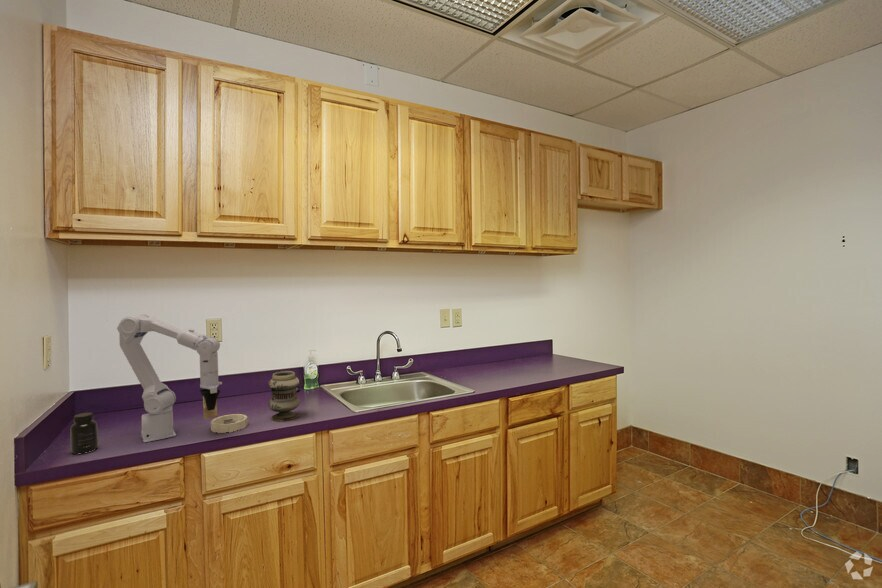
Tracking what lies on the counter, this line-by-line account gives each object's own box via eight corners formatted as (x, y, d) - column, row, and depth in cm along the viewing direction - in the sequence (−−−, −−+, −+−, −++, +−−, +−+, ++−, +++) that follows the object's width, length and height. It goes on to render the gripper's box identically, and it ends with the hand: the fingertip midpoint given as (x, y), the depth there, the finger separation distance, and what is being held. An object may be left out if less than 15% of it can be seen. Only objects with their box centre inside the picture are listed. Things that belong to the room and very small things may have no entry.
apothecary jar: (272, 424, 163) (271, 377, 163) (265, 416, 173) (264, 372, 173) (304, 418, 170) (303, 373, 169) (296, 410, 180) (295, 368, 179)
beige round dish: (215, 435, 152) (215, 427, 152) (208, 426, 161) (208, 418, 161) (251, 427, 160) (250, 419, 160) (242, 419, 169) (242, 412, 169)
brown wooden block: (204, 419, 151) (203, 397, 151) (203, 417, 153) (202, 395, 153) (217, 416, 154) (216, 394, 154) (216, 415, 156) (215, 393, 155)
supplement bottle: (69, 451, 139) (67, 414, 139) (95, 445, 144) (94, 410, 144) (73, 456, 134) (71, 419, 134) (100, 450, 140) (99, 414, 139)
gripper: (226, 373, 150) (227, 411, 150) (217, 366, 161) (218, 402, 162) (203, 376, 145) (204, 415, 146) (195, 369, 157) (197, 406, 157)
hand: (210, 409), depth 153 cm, fingers closed on brown wooden block, 2 cm apart
